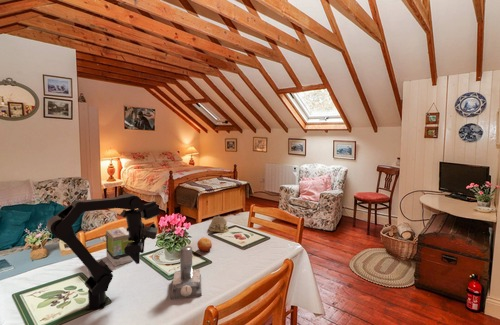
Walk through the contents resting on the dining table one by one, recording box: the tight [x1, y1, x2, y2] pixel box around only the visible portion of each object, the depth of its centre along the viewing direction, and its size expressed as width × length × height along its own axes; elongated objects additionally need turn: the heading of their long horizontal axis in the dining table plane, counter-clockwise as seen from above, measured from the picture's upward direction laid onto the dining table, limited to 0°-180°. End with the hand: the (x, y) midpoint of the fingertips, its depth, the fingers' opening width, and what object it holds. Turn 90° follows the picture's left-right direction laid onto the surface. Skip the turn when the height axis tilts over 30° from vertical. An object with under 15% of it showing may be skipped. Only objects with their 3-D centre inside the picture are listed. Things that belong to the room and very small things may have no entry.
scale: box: [170, 273, 202, 300], centre depth 114 cm, size 15×12×5 cm
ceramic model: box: [208, 215, 230, 233], centre depth 186 cm, size 14×11×10 cm
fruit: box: [197, 237, 213, 253], centre depth 152 cm, size 8×8×8 cm
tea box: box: [105, 226, 135, 267], centre depth 140 cm, size 15×10×15 cm, turn 41°
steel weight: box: [179, 245, 193, 279], centre depth 115 cm, size 5×5×12 cm
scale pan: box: [172, 268, 201, 290], centre depth 116 cm, size 11×11×2 cm
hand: (140, 257), depth 114 cm, fingers open, 9 cm apart
